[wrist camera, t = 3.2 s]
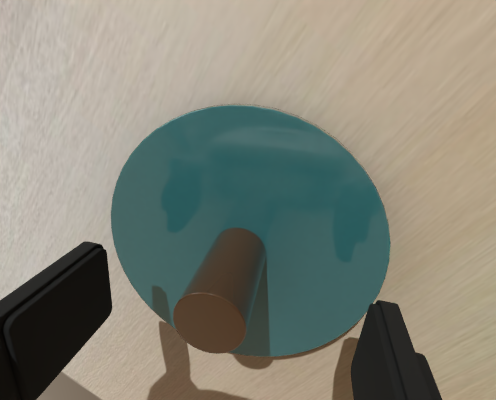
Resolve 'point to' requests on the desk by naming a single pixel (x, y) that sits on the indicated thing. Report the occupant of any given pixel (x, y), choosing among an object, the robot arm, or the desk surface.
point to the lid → (250, 230)
